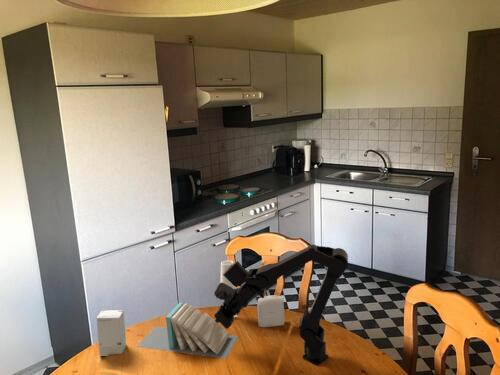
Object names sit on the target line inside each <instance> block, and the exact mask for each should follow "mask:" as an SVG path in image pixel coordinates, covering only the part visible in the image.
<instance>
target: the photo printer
mask: <svg viewBox="0 0 500 375" xmlns="http://www.w3.org/2000/svg"><path fill="white" fill-rule="evenodd" d="M256 303H257V304H256V306H257V307H256V310H257V324H258V327H260V328H267V327H268V328H269V327H279V326H285V306H284V305H285V304H284V299H283V297H282V296H281V295H265V296H264V298H261V297H259V298H257V302H256Z"/></svg>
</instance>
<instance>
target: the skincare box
mask: <svg viewBox="0 0 500 375" xmlns="http://www.w3.org/2000/svg"><path fill="white" fill-rule="evenodd" d="M125 321H126V320H125V311H124V309H123V310H122V309H121V310H120V309H119V310H118V309H117V310H115V309H112V310H101V311H100V313H99V314H98V315H97V317H96V326H97V327H96V328H97V340H98V352H99V353H98V354H99V357H100V358H102V357H101V356H106V357H108V356H109V355H120V354H121V355H122V354H123V353H124V351H125V348H126V347H127V338H126V323H125Z"/></svg>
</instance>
